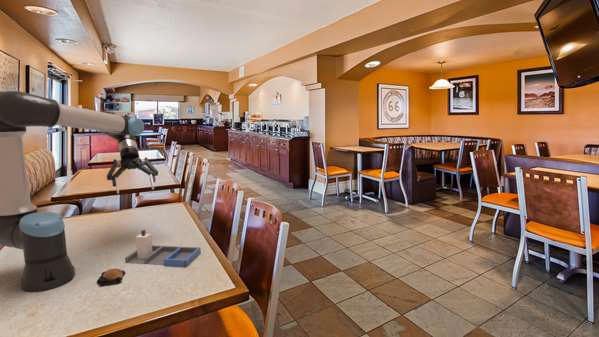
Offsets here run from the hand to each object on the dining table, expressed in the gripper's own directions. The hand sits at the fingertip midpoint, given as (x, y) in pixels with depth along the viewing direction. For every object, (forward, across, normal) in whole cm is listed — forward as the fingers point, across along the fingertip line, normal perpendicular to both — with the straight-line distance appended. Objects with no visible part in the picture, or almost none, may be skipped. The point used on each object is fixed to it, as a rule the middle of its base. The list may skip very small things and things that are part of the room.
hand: (136, 189), depth 141 cm
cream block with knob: (+27, 0, -8) cm, 28 cm away
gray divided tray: (+31, -6, -5) cm, 32 cm away
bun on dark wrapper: (+37, +13, 0) cm, 39 cm away
